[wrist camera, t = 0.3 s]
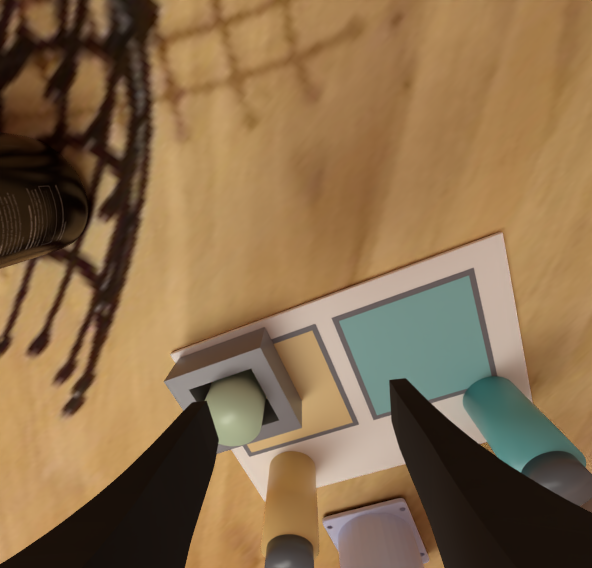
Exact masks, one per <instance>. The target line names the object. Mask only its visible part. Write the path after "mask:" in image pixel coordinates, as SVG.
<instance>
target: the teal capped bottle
mask: <svg viewBox="0 0 592 568" xmlns="http://www.w3.org/2000/svg"><path fill="white" fill-rule="evenodd" d="M463 406H464V408H465V410H466V412H467V413H468V415H469V416H470V417H471V419H472V420H473V422H474V423H475V425H476V426H477V428H478V429H479V431H480V432H481V434H482V435H483V437H484V438H485V440H486V441H487V442H488V444H489V445H490V447H491V448H492V450H493V451H494V453H495V454H496V456H497V457H498V458H499V459H501V460H502V461H504V462H505V463H507V464H508V465H510V466H511V467H513V468H514V469H516V470H518V471H519V472H521V473H522V474H524V475H526V476H527V477H529V478H531V479H532V480H534V481H535V482H537V483H539V484H540V485H542V486H544V487H545V488H547V489H549V490H551V491H552V492H554V493H556V494H558V495H560V496H561V497H563V498H565V499H567V500H569V501H570V502H572V503H574V504H576V505H578V506H581V505H582V504H584V503H586V502H587V501H588V500H590V499H591V498H592V474H591V473H590V472H589V471H588V470H587V469H586V468H585V467H586V459H585V457H584V455H583V454H582V453H581V452H580V451H579V450H578V449H577V448H576V447H575V446H574V445H573V444H572V443H571V442H570V441H569V440H568V439H567V438H566V437H565V436H564V434H563V433H562V432H561V431H560V430H559V429H558V428H557V427H556V426H555V425H554V424H553V423H552V422H551V421H550V420H549V419H548V418H547V417H546V416H545V415H544V414H543V413H542V412H541V411H540V410H539V409H538V408H537V407H536V406H535V405H534V404H533V403H532V402H531V401H530V400H529V399H528V398H527V397H526V396H525V395H524V394H523V393H522V392H521V391H520V390H519V389H518V388H517V387H516V386H515V385H514V384H513V383H512V382H511V381H510V380H508V379H506V378H504V377H499V376H492V377H486V378H483V379H480V380H478V381H477V382H475V383H473V384H472V385H471V386H470V387H469V388H468V389H467V390H466V392H465V394H464V396H463Z"/></svg>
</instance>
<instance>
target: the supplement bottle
mask: <svg viewBox="0 0 592 568" xmlns="http://www.w3.org/2000/svg"><path fill="white" fill-rule="evenodd" d="M87 218H88V200H87V195H86V192H85V189H84V186H83V184H82V182H81V180H80V178H79V176H78V174H77V173H76V171H75V170H74V169H73V167H72V166H71V165H70V164H69V163H68V162H67V160H66V159H64V158H63V157H62V156H61V155H60V154H59V153H58V152H56V151H55V150H54V149H52V148H51V147H49V146H48V145H46V144H44V143H42V142H40V141H38V140H35V139H32V138H29V137H25V136H21V135H14V134H7V133H1V132H0V269H1V268H4V267H7V266H11V265H14V264H17V263H20V262H23V261H26V260H29V259H32V258H35V257H38V256H42V255H45V254H48V253H50V252H53V251H56V250H59V249H62V248H64V247H66V246H68V245H70V244H71V243H73V242H74V241H75V240H76V239H77V238H78V237H79V236H80V235H81V233H82V232H83V230H84V228H85V225H86V222H87Z"/></svg>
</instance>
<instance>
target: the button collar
mask: <svg viewBox="0 0 592 568" xmlns="http://www.w3.org/2000/svg"><path fill="white" fill-rule="evenodd" d="M248 369H252V371H253V373H254V375H255V377H256V379H257V380H258V382H259V384H260V386H261V388H262V389H263V391H264V393H265V395H266V397H267V399H266V401H265V407H264V413H263V420H262V426H261V430H260V433H259V434H258V436H257V437H256V438H255V439H254V440H253V441H251V442H249V443H247V444H251V443H254V442H257V441H261V440H264V439H267V438H270V437H274V436H277V435H280V434H284V433H287V432H290V431H294V430H297V429H300V428H302V400H301V398H300V396H299V394H298V392H297V390H296V388H295V386H294V384H293V382H292V380H291V378H290V376H289V374H288V372H287V370H286V368H285V366H284V364H283V362H282V360H281V358H280V356H279V354H278V352H277V350H276V348H275V346H274V344H273V342H272V340H271V338H270V336H269V334H268V332H267V330H266V328H265V327H263V328H260V329H257V330H255V331H252V332H249V333H246V334H244V335H241V336H238V337H235V338H233V339H230V340H227V341H224V342H222V343H219V344H216V345H213V346H211V347H208V348H205V349H202V350H200V351H197V352H194V353H191V354H189V355H186V356H183V357H180V358H179V359H178V361H177V362H176V364H175V365H174V367H173V368H172V370H171V371H170V373H169V374H168V376H167V377H166V379H165V380H164V383H165V384H166V386H167V387H168V388H169V390H170V391H171V393H172V394H173V396H174V397H175V399H176V400H177V402H178V403H179V405H180V406H181V408H182V409H183V411H184V410H185V409H186V408H187V407H188V406H189V405H190V404H191V403H192V402H199V401H205V399H206V396H207V394H208V392H209V389H210V387H211V384H212V383H211V382H213V381H216V380H219V379H222V378H225V377H228V376H231V375H234V374H236V373H239V372H242V371H245V370H248ZM247 444H245V445H247ZM241 446H244V445H241ZM241 446H225V445H221V444H218V448H217V454H218V453H221V452H224V451H227V450H231V449H234V448H237V447H241Z"/></svg>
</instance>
